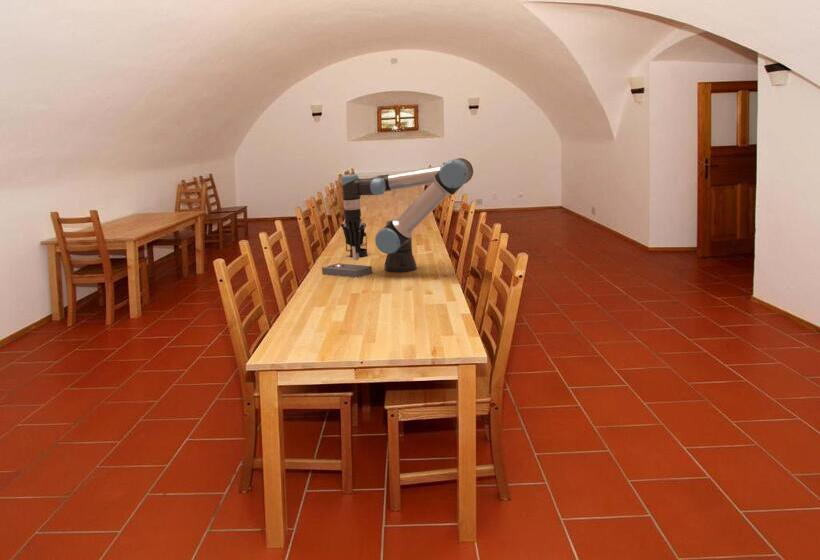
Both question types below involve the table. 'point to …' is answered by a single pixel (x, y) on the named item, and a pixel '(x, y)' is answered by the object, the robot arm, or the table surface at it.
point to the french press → (362, 250)
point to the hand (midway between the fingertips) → (356, 259)
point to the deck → (347, 270)
